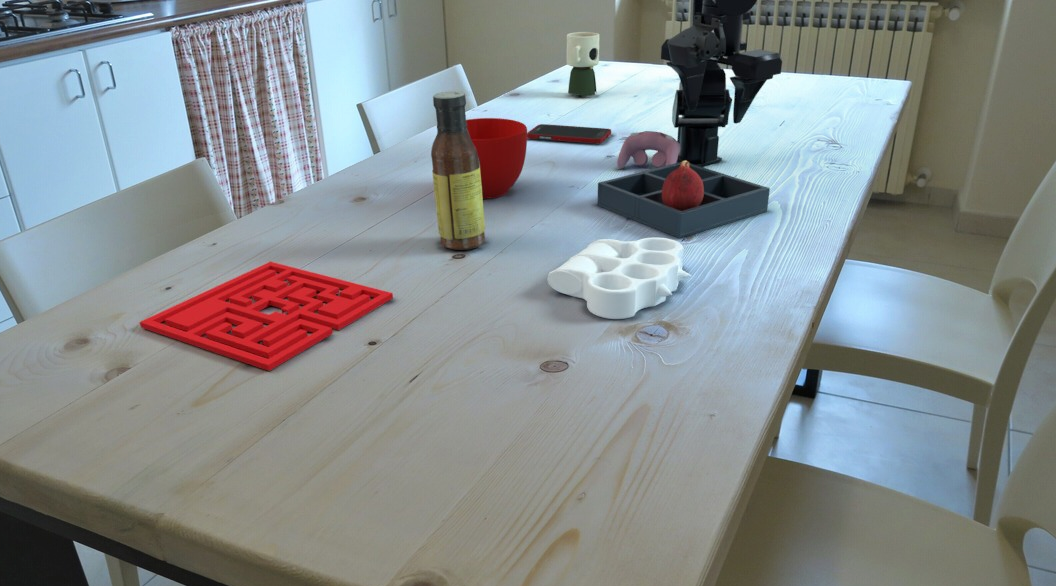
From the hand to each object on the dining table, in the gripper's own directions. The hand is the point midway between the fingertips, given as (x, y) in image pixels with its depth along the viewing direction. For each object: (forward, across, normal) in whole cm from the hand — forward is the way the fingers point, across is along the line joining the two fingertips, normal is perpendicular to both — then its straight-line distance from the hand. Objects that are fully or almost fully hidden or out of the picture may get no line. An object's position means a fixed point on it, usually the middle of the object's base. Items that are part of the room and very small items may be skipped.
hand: (713, 116), depth 131 cm
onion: (+11, +8, -13) cm, 18 cm away
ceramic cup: (+12, -20, -29) cm, 37 cm away
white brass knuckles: (+11, +20, -34) cm, 41 cm away
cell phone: (+12, -39, +3) cm, 41 cm away
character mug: (+13, -65, +26) cm, 71 cm away
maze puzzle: (+11, +1, -71) cm, 72 cm away
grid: (+11, +4, -9) cm, 15 cm away
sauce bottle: (+11, -4, -42) cm, 44 cm away
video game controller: (+12, -15, +1) cm, 19 cm away
